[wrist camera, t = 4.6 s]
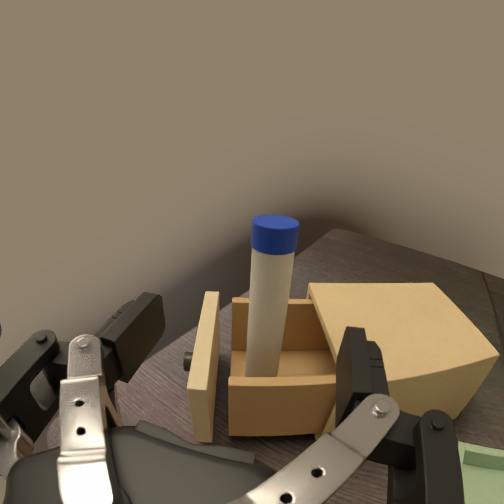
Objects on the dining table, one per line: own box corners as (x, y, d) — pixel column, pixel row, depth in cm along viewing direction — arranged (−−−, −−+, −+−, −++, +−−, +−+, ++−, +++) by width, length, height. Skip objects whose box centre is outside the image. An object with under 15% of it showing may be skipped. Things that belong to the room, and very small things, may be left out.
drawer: (180, 440, 18) (166, 386, 15) (196, 346, 28) (192, 290, 25) (368, 433, 18) (399, 380, 16) (336, 347, 29) (351, 293, 26)
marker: (253, 400, 21) (267, 231, 15) (237, 378, 23) (243, 216, 18) (282, 388, 22) (309, 226, 17) (266, 368, 24) (282, 213, 19)
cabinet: (317, 451, 18) (348, 386, 15) (296, 351, 29) (308, 282, 26) (455, 418, 19) (500, 354, 15) (410, 343, 30) (433, 282, 27)
